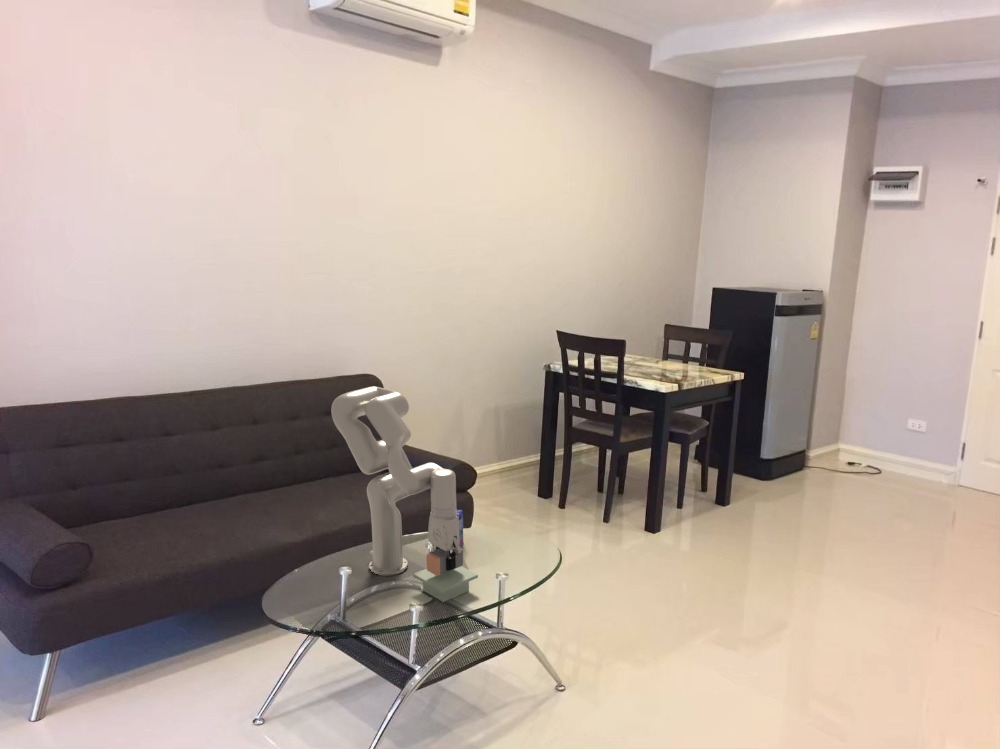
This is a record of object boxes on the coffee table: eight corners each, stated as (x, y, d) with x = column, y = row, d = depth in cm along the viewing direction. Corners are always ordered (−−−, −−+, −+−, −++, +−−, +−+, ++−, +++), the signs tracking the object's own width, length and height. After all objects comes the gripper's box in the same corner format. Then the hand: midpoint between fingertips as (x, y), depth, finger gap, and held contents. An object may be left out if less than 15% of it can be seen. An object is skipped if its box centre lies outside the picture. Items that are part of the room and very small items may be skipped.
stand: (413, 590, 248) (413, 573, 246) (449, 575, 257) (449, 559, 255) (442, 607, 237) (441, 590, 236) (478, 591, 247) (477, 574, 245)
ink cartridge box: (464, 542, 280) (463, 503, 277) (460, 549, 275) (459, 509, 272) (436, 540, 282) (435, 501, 279) (432, 546, 277) (431, 507, 274)
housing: (452, 560, 250) (452, 543, 249) (462, 565, 247) (462, 548, 246) (426, 570, 244) (426, 553, 243) (437, 576, 240) (436, 559, 239)
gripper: (416, 505, 245) (418, 560, 249) (452, 522, 232) (453, 579, 237) (436, 499, 250) (437, 553, 254) (471, 515, 237) (472, 571, 242)
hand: (445, 565), depth 245 cm, fingers closed on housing, 5 cm apart
